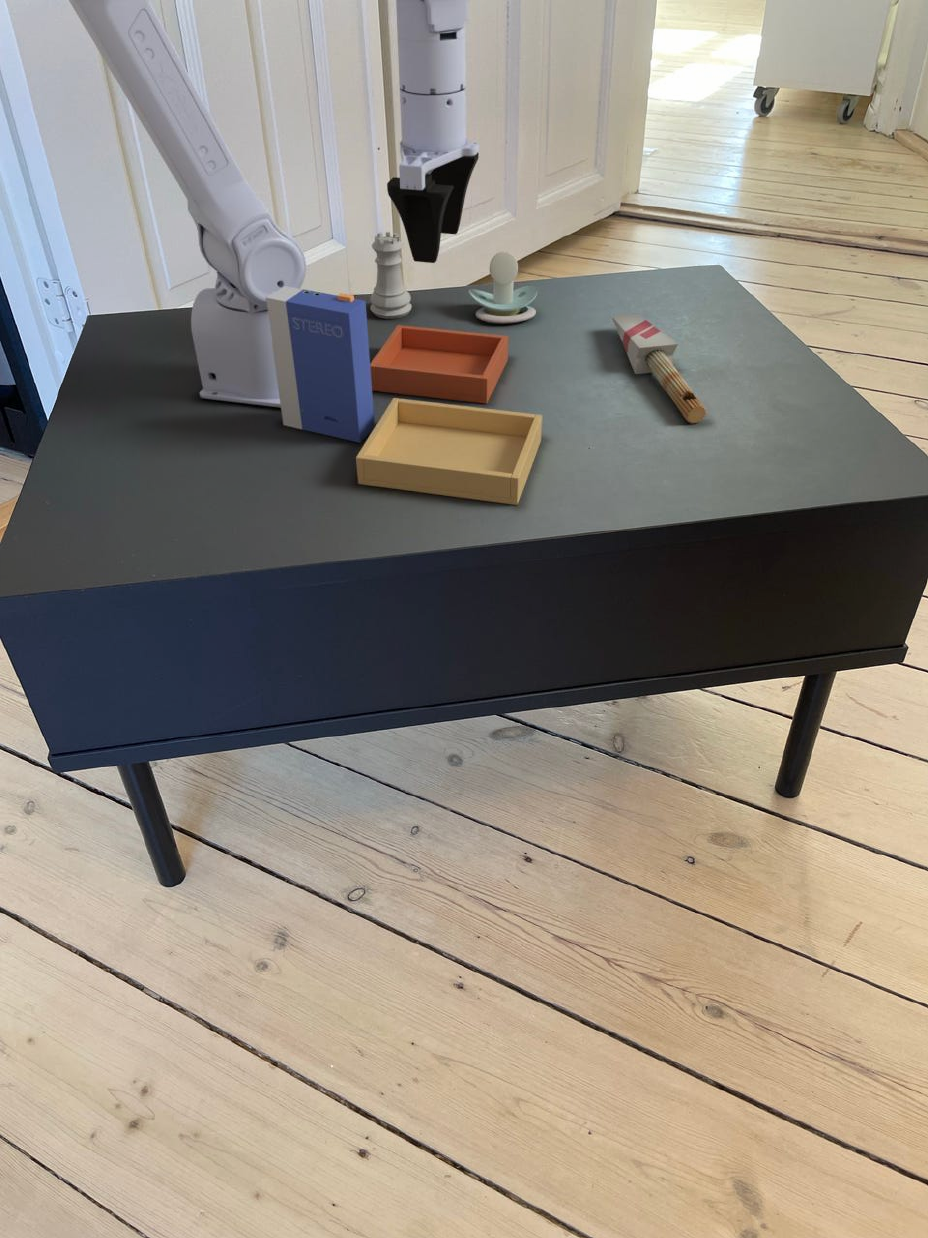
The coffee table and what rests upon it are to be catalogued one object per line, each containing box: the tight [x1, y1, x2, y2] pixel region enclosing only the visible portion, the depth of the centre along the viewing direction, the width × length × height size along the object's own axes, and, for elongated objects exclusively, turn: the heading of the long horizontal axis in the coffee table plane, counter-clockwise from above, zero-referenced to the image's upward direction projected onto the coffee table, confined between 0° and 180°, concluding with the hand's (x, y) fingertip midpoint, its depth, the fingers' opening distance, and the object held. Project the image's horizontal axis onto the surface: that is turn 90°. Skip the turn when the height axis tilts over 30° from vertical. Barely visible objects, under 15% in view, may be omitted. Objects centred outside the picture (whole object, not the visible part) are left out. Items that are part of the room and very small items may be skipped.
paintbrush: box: [611, 312, 707, 424], centre depth 92 cm, size 4×3×20 cm
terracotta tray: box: [370, 324, 509, 405], centre depth 92 cm, size 11×9×2 cm
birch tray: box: [355, 397, 543, 506], centre depth 80 cm, size 13×10×2 cm
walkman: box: [266, 286, 376, 444], centre depth 82 cm, size 8×3×12 cm, turn 65°
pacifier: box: [468, 250, 538, 324], centre depth 102 cm, size 7×6×6 cm
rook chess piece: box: [370, 231, 413, 320], centre depth 102 cm, size 4×4×8 cm
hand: (436, 246), depth 93 cm, fingers open, 7 cm apart
